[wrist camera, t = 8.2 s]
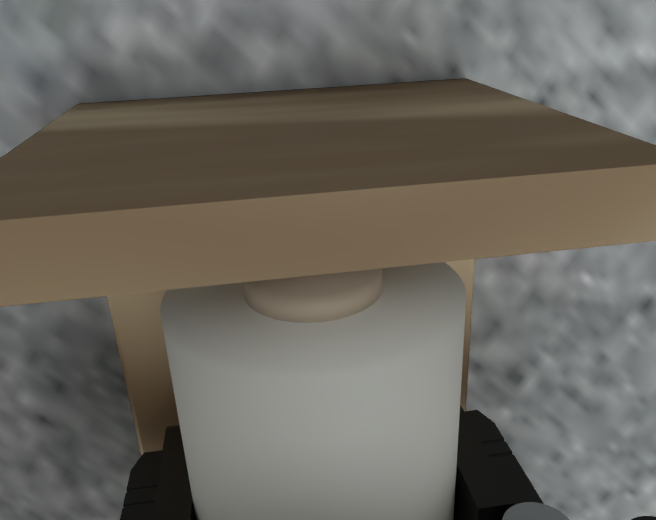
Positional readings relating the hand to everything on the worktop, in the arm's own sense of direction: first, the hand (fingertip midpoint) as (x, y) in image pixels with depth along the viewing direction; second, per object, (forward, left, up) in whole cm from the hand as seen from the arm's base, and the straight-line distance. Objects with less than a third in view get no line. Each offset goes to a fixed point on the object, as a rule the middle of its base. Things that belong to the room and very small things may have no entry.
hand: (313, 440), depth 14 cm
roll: (0, 0, +2) cm, 2 cm away
